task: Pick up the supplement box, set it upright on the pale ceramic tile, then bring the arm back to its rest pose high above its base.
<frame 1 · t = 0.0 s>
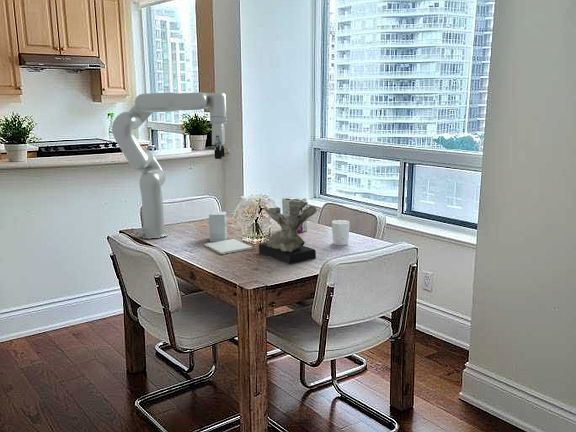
hand: (219, 157, 264), 37 cm above the table, tool pointing down, fingers open, 9 cm apart
supplement box: (218, 240, 265), on the table
tile: (228, 247, 251), on the table
coral: (290, 254, 241), on the table
white cup: (340, 244, 256), on the table
candy bar box: (294, 231, 280), on the table
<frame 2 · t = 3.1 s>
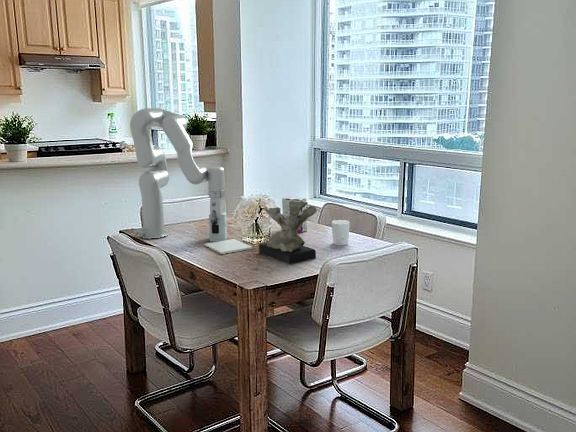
hand: (218, 231, 264), 4 cm above the table, tool pointing down, fingers closed on supplement box, 8 cm apart
supplement box: (218, 240, 265), on the table, touching gripper
everything else where it was.
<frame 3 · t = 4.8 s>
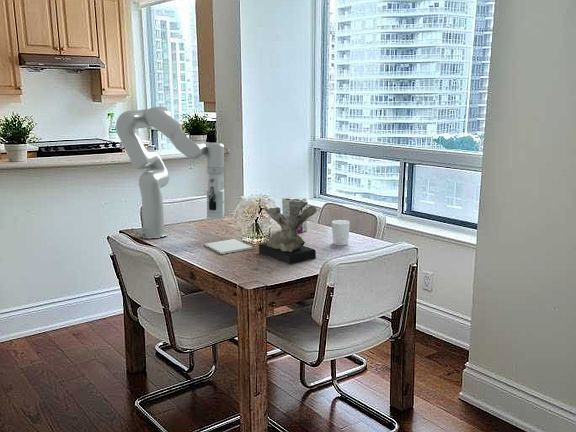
hand: (215, 207, 262), 15 cm above the table, tool pointing down, fingers closed on supplement box, 8 cm apart
supplement box: (215, 217, 263), point 11 cm above the table, touching gripper
everything else where it was.
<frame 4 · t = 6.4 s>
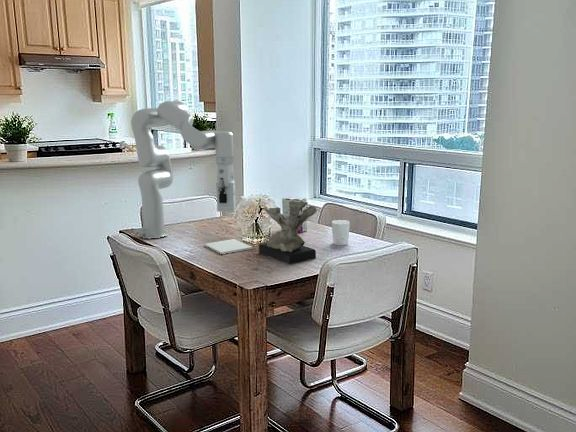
hand: (226, 200, 247), 21 cm above the table, tool pointing down, fingers closed on supplement box, 8 cm apart
supplement box: (226, 210, 248), point 17 cm above the table, touching gripper
everything else where it was.
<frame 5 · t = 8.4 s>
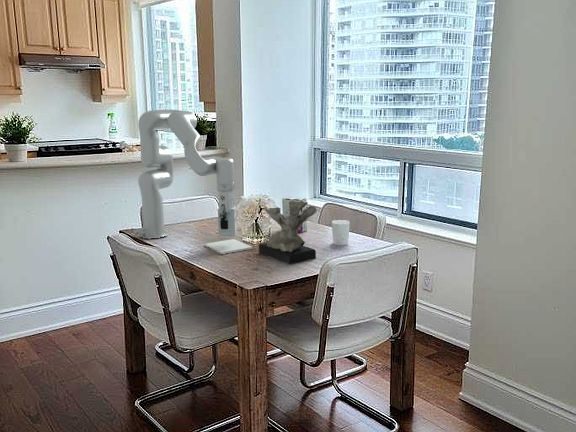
hand: (227, 226, 249), 10 cm above the table, tool pointing down, fingers closed on supplement box, 8 cm apart
supplement box: (227, 236, 250), point 5 cm above the table, touching gripper
everything else where it was.
when the fingers open (6 cm above the table, at t = 9.7 s): supplement box drops 1 cm, resting on tile.
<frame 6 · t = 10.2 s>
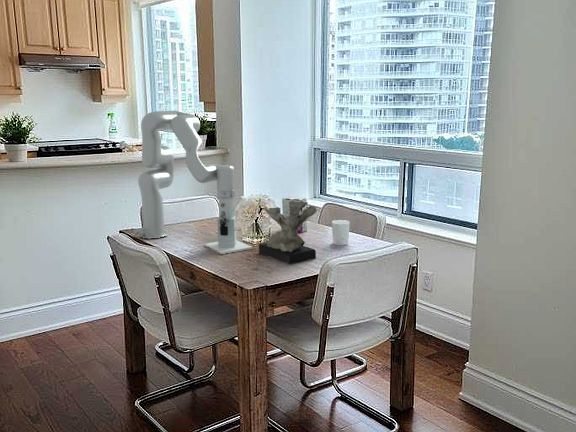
hand: (227, 232, 250), 7 cm above the table, tool pointing down, fingers open, 9 cm apart
supplement box: (227, 245, 251), point 1 cm above the table, touching tile
everything else where it was.
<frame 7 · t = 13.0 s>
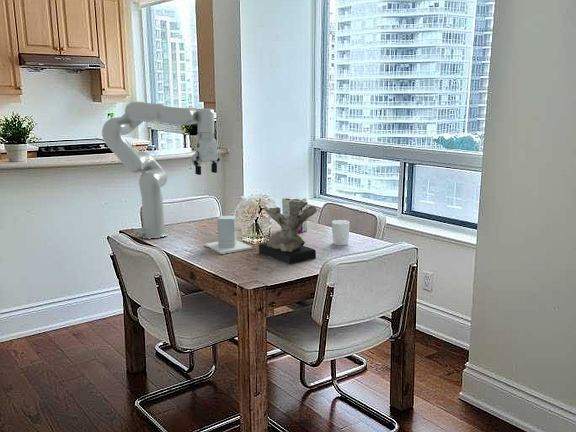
hand: (206, 173, 263), 30 cm above the table, tool pointing down, fingers open, 9 cm apart
nothing on the table moved.
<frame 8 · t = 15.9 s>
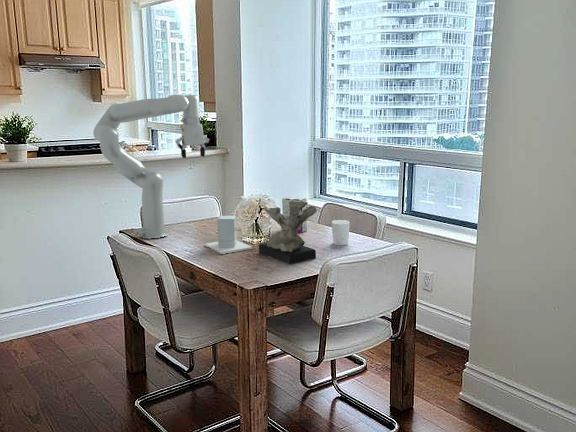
hand: (193, 157, 277), 36 cm above the table, tool pointing down, fingers open, 9 cm apart
nothing on the table moved.
at the end: supplement box inside the target area on the tile (0.3 cm from its centre), point 0.8 cm above the tile's base; supplement box tilted 0°; the gripper is holding nothing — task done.
